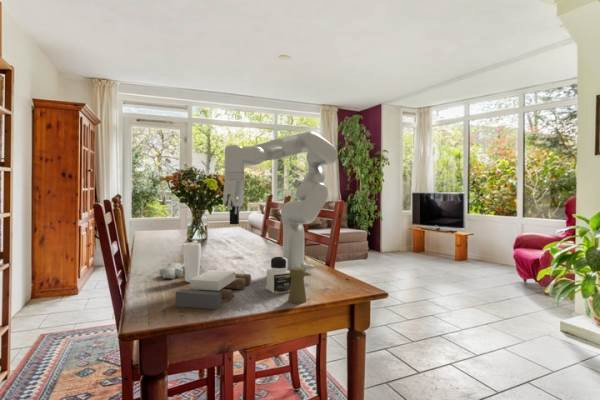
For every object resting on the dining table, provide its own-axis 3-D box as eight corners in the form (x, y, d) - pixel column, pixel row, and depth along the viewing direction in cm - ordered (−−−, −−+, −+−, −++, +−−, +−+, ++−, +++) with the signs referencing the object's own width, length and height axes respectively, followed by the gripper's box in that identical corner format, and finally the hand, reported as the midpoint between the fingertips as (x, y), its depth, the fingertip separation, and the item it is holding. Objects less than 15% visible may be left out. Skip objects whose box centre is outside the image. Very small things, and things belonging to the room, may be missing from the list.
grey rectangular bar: (221, 306, 108) (221, 292, 108) (217, 309, 105) (217, 295, 105) (181, 303, 111) (181, 289, 111) (175, 306, 108) (175, 291, 108)
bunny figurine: (155, 270, 138) (167, 258, 153) (155, 282, 139) (168, 269, 154) (179, 270, 138) (189, 258, 153) (179, 282, 139) (189, 269, 154)
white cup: (195, 283, 133) (195, 245, 133) (179, 282, 135) (179, 244, 134) (204, 279, 140) (204, 242, 140) (188, 278, 141) (188, 241, 141)
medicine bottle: (274, 294, 121) (274, 260, 121) (266, 288, 128) (266, 256, 127) (292, 291, 124) (292, 258, 124) (283, 286, 131) (284, 255, 130)
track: (251, 283, 135) (251, 273, 134) (226, 302, 112) (226, 290, 112) (217, 281, 137) (217, 271, 137) (187, 299, 115) (187, 287, 115)
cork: (287, 297, 117) (288, 265, 117) (305, 297, 118) (305, 265, 117) (288, 303, 111) (289, 270, 111) (307, 303, 112) (307, 269, 111)
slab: (235, 279, 124) (235, 271, 124) (218, 290, 110) (218, 281, 110) (209, 277, 126) (209, 269, 126) (189, 288, 112) (189, 279, 112)
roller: (232, 297, 117) (231, 287, 116) (228, 302, 113) (227, 292, 112) (194, 294, 120) (193, 284, 119) (189, 299, 116) (188, 289, 115)
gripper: (232, 177, 143) (232, 222, 143) (217, 176, 128) (217, 225, 129) (250, 178, 141) (249, 222, 142) (236, 176, 127) (235, 226, 127)
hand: (234, 224), depth 135 cm, fingers closed
